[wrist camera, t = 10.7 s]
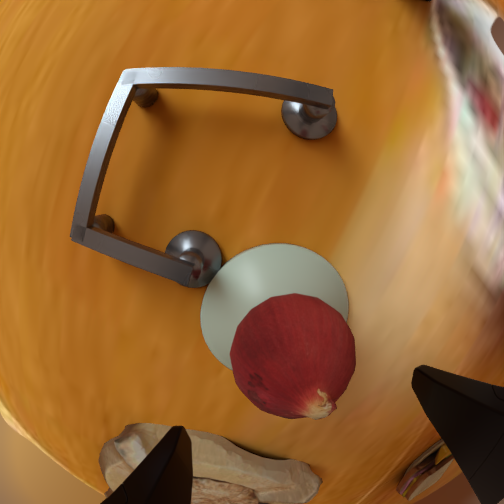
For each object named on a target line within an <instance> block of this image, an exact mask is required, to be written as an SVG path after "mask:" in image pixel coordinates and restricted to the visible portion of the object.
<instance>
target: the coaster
mask: <svg viewBox="0 0 504 504" xmlns="http://www.w3.org/2000/svg"><path fill="white" fill-rule="evenodd" d="M292 293H298V294H303V295H308V296H313V297H318V298H319V299H321V300H322V301H324V302H325V303H327V304H328V305H330V306H331V307H333V308H334V309H336V310H337V311H338V312H339V313H341V315H342V316H343V318H344V320H345V321H346V323H347V318H348V296H347V292H346V288H345V285H344V283H343V281H342V279H341V277H340V275H339V274H338V272H337V271H336V270H335V269H334V267H333V266H332V265H331V264H330V263H329V262H328V261H326V260H325V259H324V258H323V257H321V256H320V255H318V254H316V253H315V252H313V251H311V250H309V249H307V248H304V247H301V246H298V245H294V244H287V243H270V244H263V245H259V246H256V247H252V248H250V249H247V250H245V251H243V252H241V253H239V254H237V255H236V256H234V257H233V258H231V259H230V260H229V261H227V262H226V263H225V264H224V265H223V266H222V267H221V268H220V270H219V271H218V273H217V274H216V275H215V277H214V278H213V279H212V281H211V282H210V283H209V285H208V287H207V289H206V292H205V294H204V298H203V302H202V306H201V315H200V319H201V328H202V333H203V336H204V339H205V341H206V344H207V345H208V347H209V349H210V351H211V352H212V353H213V354H214V356H215V357H216V358H217V359H218V360H219V361H220V362H221V363H222V364H224V365H225V366H226V367H228V368H229V369H231V370H233V369H232V364H231V359H230V350H231V346H232V342H233V339H234V336H235V332H236V329H237V326H238V324H239V323H240V322H241V321H242V320H243V318H244V317H245V316H246V315H247V313H248V312H249V311H250V310H251V309H252V308H254V307H255V306H257V305H259V304H260V303H262V302H264V301H265V300H267V299H269V298H270V297H274V296H280V295H286V294H292Z"/></svg>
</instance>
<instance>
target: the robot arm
mask: <svg viewBox="0 0 504 504" xmlns="http://www.w3.org/2000/svg"><path fill="white" fill-rule="evenodd" d="M426 1H429V2H430V1H432V0H426ZM412 388H413V390H414V392H415V394H416V396H417V398H418V400H419V402H420V404H421V406H422V408H423V410H424V412H425V413H426V415H427V417H428V418H429V420H430V421H431V423H432V424H433V426H434V427H435V429H436V430H437V432H438V433H439V435H440V436H441V438H442V439H443V441H444V443H445V444H446V446H447V447H448V449H449V450H450V452H451V454H452V455H453V457H454V458H455V460H456V462H457V463H458V465H459V466H460V468H461V470H462V471H463V473H464V475H465V476H466V478H467V480H468V482H469V483H470V485H471V487H472V488H473V490H474V492H475V494H476V496H477V497H478V499H479V501H480V503H481V504H497V503H499V501H501V500H502V499H503V498H504V387H500V386H496V385H491V384H488V383H484V382H481V381H477V380H474V379H470V378H466V377H463V376H459V375H456V374H453V373H449V372H446V371H443V370H439V369H436V368H433V367H430V366H427V365H421V366H419V367H416V368H415V369H414V372H413V378H412ZM192 485H193V462H192V442H191V439H190V437H189V435H188V433H187V431H186V429H185V428H184V427H183V426H173V427H171V428H170V430H169V431H168V432H167V433H166V434H165V435H164V437H163V438H162V439H161V440H160V441H159V442H158V444H157V445H156V446H155V447H154V448H153V449H152V450H151V452H150V453H149V454H148V455H147V456H146V457H145V458H144V459H143V461H142V462H141V463H140V464H139V465H138V466H137V467H136V468H135V469H134V471H133V472H132V473H131V474H130V475H129V476H128V477H127V478H126V479H125V480H124V481H123V484H120V486H119V487H118V488H117V489H116V490H115V491H114V492H113V493H112V494H111V495H110V496H109V497H107V498H106V499H105V500H104V501H103V502H102V503H100V504H191V498H192Z"/></svg>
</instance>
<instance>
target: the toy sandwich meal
mask: <svg viewBox="0 0 504 504" xmlns="http://www.w3.org/2000/svg"><path fill="white" fill-rule="evenodd" d="M453 459H454V457H453V455H452V454H451V452H450V450H449V449H448V447H447V446H446V444H445V443H444V441H443V439H441V440H440V441H438V442H437V443H435V444H434V445H433V446H432V447H430V448H429V449H428V450H427V451H425V452H424V453H423V454H422V455H421V456H420V457H418V458H417V459H416V460H415V461H414V462H413V463H412V464H411V465H410V467H409V468H408V469H407V471H406V472H405V475H404V477H403V478H402V480H401V481H400V483H399V484H398V486H397V488H396V491H397V492H398V493H399V494H401V495H402V496H403V497H406V498H407V500H411V499H413V498H414V497H415V496H417V495H418V494H420V493H421V492H423V491H424V490H425V489H427V488H428V487H430V486H431V485H432V484H434V483H435V482H436V481H438V480H439V479H440V477H441V476H442V475H443V473H444V472H445V471H446V469H447V468H448V466H449V465H450V464H451V462H452V461H453Z"/></svg>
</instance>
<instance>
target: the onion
mask: <svg viewBox="0 0 504 504" xmlns="http://www.w3.org/2000/svg"><path fill="white" fill-rule="evenodd" d="M230 359H231V364H232V369H233V374H234V378H235V382H236V384H237V386H238V387H239V389H240V390H241V391H242V393H243V394H244V395H245V396H246V397H247V398H248V399H249V400H250V401H251V402H252V403H253V404H254V405H255V406H257V407H258V408H259V409H261V410H262V411H265V412H267V413H270V414H273V415H276V416H280V417H283V418H288V419H296V418H304V417H310V418H312V419H315V420H317V419H321V418H325V417H327V416H329V415H330V414H331V413H332V412H333V411H334V410H335V409H337V406H336V404H335V402H336V401H337V400H338V399H339V397H340V396H341V395H342V394H343V393H344V391H345V390H346V388H347V386H348V384H349V381H350V379H351V377H352V375H353V373H354V371H355V365H356V357H355V340H354V336H353V334H352V332H351V330H350V328H349V326H348V325H347V323H346V321H345V320H344V318H343V316H342V315H341V313H339V312H338V311H337V310H336V309H334V308H333V307H331V306H330V305H328V304H327V303H325V302H324V301H322V300H321V299H319V298H318V297H313V296H308V295H303V294H298V293H292V294H286V295H280V296H274V297H270V298H269V299H267V300H265V301H264V302H262V303H260V304H259V305H257V306H255V307H254V308H252V309H251V310H250V311H249V312H248V313H247V315H246V316H245V317H244V318H243V320H242V321H241V322H240V323H239V324H238V326H237V329H236V332H235V336H234V339H233V342H232V346H231V350H230Z"/></svg>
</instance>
